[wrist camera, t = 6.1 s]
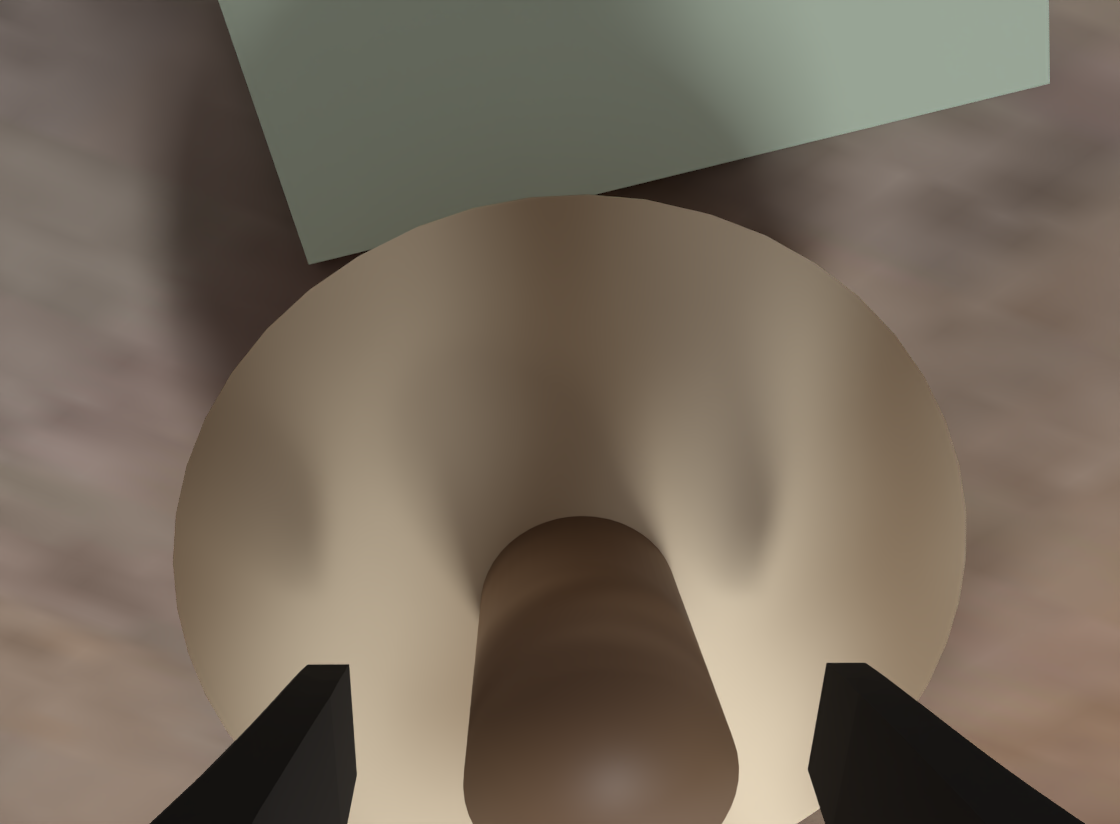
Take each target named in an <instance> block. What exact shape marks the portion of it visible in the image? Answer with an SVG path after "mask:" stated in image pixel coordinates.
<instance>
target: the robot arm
mask: <svg viewBox="0 0 1120 824" xmlns="http://www.w3.org/2000/svg"><path fill="white" fill-rule="evenodd" d="M808 772H809V775H810V778H811V782H812V785H813V788H814V791H815V794H816V797H817V800H818V804H819V807H820V810H821V812H822V815H823V818H824V821H825V824H1085V823H1083V822H1082V821H1080V820H1079V819H1077V818H1076V817H1074V816H1073V815H1071V814H1070V813H1068V812H1067V811H1065V810H1064V809H1063V808H1061V807H1060V806H1058V805H1057V804H1055V803H1054V802H1052V801H1051V800H1050V799H1048V798H1047V797H1045V796H1044V795H1042V794H1041V793H1039V792H1038V791H1037V790H1035V789H1034V788H1032V787H1031V786H1029V785H1028V784H1026V783H1025V782H1024V781H1022V780H1021V779H1020V778H1018V777H1017V776H1015V775H1014V774H1013V773H1011V772H1010V771H1008V770H1007V769H1006V768H1004V767H1003V766H1002V765H1000V764H999V763H998V762H996V761H995V760H993V759H992V758H991V757H989V756H988V755H987V754H985V753H984V752H983V751H981V750H980V749H979V748H977V747H976V746H975V745H973V744H972V743H971V742H969V741H968V740H967V739H965V738H964V737H963V736H962V735H960V734H959V733H958V732H956V731H955V730H954V729H952V728H951V727H950V726H949V725H947V724H946V723H945V722H943V721H942V720H941V719H939V718H938V717H937V716H936V715H934V714H933V713H932V712H930V711H929V710H928V709H927V708H925V707H924V706H923V705H921V704H920V703H919V702H918V701H916V700H915V699H914V698H912V697H911V696H910V695H909V694H907V693H906V692H905V691H903V690H902V689H901V688H899V687H898V686H897V685H896V684H894V683H893V682H892V681H890V680H889V679H888V678H886V677H885V676H884V675H882V674H881V673H879V672H878V671H877V670H875V669H874V668H872V667H871V666H870V665H868V664H867V663H826V668H825V674H824V679H823V685H822V691H821V696H820V702H819V708H818V713H817V719H816V725H815V730H814V736H813V742H812V747H811V753H810V759H809V764H808ZM356 777H357V768H356V754H355V739H354V725H353V711H352V697H351V682H350V668H349V664H307V665H306V666H305V667H304V668H303V669H302V670H301V671H300V672H299V673H298V674H297V675H296V676H295V677H294V678H293V679H292V680H291V682H290V683H289V684H288V685H287V686H286V687H285V688H284V689H283V690H282V691H281V692H280V694H279V695H278V696H277V697H276V698H275V699H274V700H273V701H272V702H271V703H270V704H269V706H268V707H267V708H266V709H265V710H264V711H263V712H262V713H261V714H260V715H259V716H258V717H257V718H256V720H255V721H254V722H253V723H252V724H251V725H250V726H249V727H248V728H247V729H246V730H245V731H244V732H243V733H242V734H241V735H240V736H239V737H238V738H237V739H236V740H235V741H234V743H233V744H232V745H231V746H230V747H229V748H228V749H227V750H226V751H225V752H224V753H223V754H222V755H221V756H220V757H219V758H218V759H217V760H216V761H215V762H214V763H213V764H212V765H211V766H210V767H209V768H208V769H207V770H206V771H205V772H204V773H203V774H202V775H201V776H200V777H199V778H198V779H197V780H196V781H195V782H194V783H193V784H192V785H191V786H189V787H188V788H187V789H186V790H185V791H184V792H183V793H182V794H181V795H180V796H179V797H178V798H177V799H176V800H175V801H173V802H172V803H171V804H170V805H169V806H168V807H167V808H166V809H165V810H164V811H163V812H162V813H161V814H160V815H158V816H157V817H156V818H155V819H154V820H153V821H152V822H151V823H150V824H347V823H348V818H349V813H350V808H351V803H352V798H353V793H354V787H355V782H356Z"/></svg>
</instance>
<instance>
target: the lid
mask: <svg viewBox="0 0 1120 824" xmlns="http://www.w3.org/2000/svg"><path fill="white" fill-rule="evenodd" d="M965 559H966V507H965V501H964V494H963V487H962V480H961V473H960V467H959V463H958V460H957V456H956V453H955V450H954V447H953V443H952V440H951V437H950V434H949V430H948V427H947V424H946V421H945V418H944V416H943V414H942V412H941V410H940V408H939V406H938V404H937V402H936V400H935V398H934V396H933V394H932V392H931V390H930V388H929V386H928V384H927V382H926V380H925V377H924V376H923V374H922V373H921V371H920V370H919V368H918V367H917V366H916V364H915V363H914V361H913V360H912V358H911V357H910V356H909V354H908V353H907V351H906V350H905V348H904V347H903V346H902V344H901V343H900V341H899V340H898V338H897V337H896V336H895V334H894V333H893V332H892V331H891V330H890V329H889V328H888V327H887V326H886V325H885V324H884V323H883V322H882V321H881V320H880V319H879V317H878V316H877V315H876V314H875V313H874V312H873V311H872V310H871V309H870V308H869V307H868V306H867V305H866V304H865V303H864V302H863V301H862V300H861V299H860V298H859V297H858V296H857V295H856V294H855V293H853V292H852V291H851V290H849V289H848V288H847V287H845V286H844V285H843V284H842V283H840V282H839V281H838V280H836V279H835V278H834V277H833V276H831V275H830V274H829V273H827V272H826V271H825V270H823V269H822V268H821V267H820V266H818V265H817V264H816V263H814V262H812V261H810V260H809V259H807V258H805V257H803V256H802V255H800V254H798V253H796V252H794V251H793V250H791V249H789V248H787V247H785V246H784V245H782V244H780V243H778V242H777V241H775V240H773V239H771V238H769V237H768V236H766V235H763V234H760V233H758V232H755V231H753V230H750V229H747V228H745V227H742V226H740V225H737V224H734V223H732V222H729V221H727V220H724V219H721V218H719V217H716V216H714V215H711V214H707V213H702V212H698V211H694V210H690V209H685V208H681V207H676V206H672V205H668V204H663V203H659V202H655V201H650V200H646V199H637V198H625V197H614V196H602V195H591V194H582V195H562V196H542V197H528V198H522V199H517V200H512V201H507V202H501V203H496V204H491V205H485V206H480V207H475V208H471V209H468V210H465V211H462V212H459V213H456V214H453V215H450V216H447V217H444V218H441V219H438V220H435V221H432V222H429V223H426V224H423V225H420V226H418V227H416V228H414V229H412V230H410V231H408V232H406V233H404V234H402V235H400V236H398V237H396V238H394V239H392V240H390V241H388V242H386V243H384V244H382V245H380V246H378V247H376V248H374V249H372V250H370V251H368V252H366V253H364V254H362V255H360V256H358V257H356V258H355V259H354V260H352V261H351V262H349V263H348V264H346V265H345V266H343V267H342V268H340V269H339V270H338V271H336V272H335V273H333V274H332V275H330V276H329V277H327V278H326V279H324V280H323V281H322V282H320V283H319V284H317V285H316V286H314V287H313V288H311V289H310V290H309V291H307V292H306V293H305V294H304V295H303V296H302V297H301V298H300V299H299V300H298V301H297V302H296V303H294V304H293V305H292V306H291V307H290V308H289V309H288V310H287V311H286V312H285V313H284V314H283V315H281V316H280V317H279V318H278V319H277V320H276V321H275V322H274V323H273V324H272V325H271V326H270V327H269V328H267V329H266V331H265V332H264V333H263V334H262V336H261V337H260V338H259V339H258V341H257V342H256V343H255V344H254V346H253V347H252V348H251V349H250V351H249V352H248V353H247V354H246V356H245V357H244V358H243V359H242V361H241V362H240V363H239V364H238V365H237V367H236V368H235V369H234V370H233V372H232V373H231V375H230V377H229V378H228V380H227V382H226V384H225V385H224V387H223V389H222V390H221V392H220V394H219V396H218V397H217V399H216V401H215V402H214V404H213V406H212V408H211V409H210V411H209V413H208V414H207V416H206V418H205V420H204V423H203V425H202V428H201V431H200V433H199V436H198V438H197V441H196V443H195V446H194V448H193V451H192V454H191V456H190V459H189V461H188V464H187V467H186V471H185V476H184V480H183V485H182V489H181V494H180V498H179V503H178V507H177V512H176V521H175V537H174V553H173V568H174V579H175V590H176V600H177V610H178V614H179V618H180V622H181V626H182V630H183V634H184V638H185V642H186V646H187V650H188V653H189V656H190V658H191V661H192V663H193V666H194V668H195V670H196V673H197V675H198V678H199V680H200V683H201V685H202V687H203V690H204V692H205V695H206V696H207V698H208V700H209V701H210V703H211V705H212V707H213V708H214V710H215V712H216V713H217V715H218V717H219V718H220V720H221V722H222V724H223V725H224V727H225V729H226V730H227V732H228V733H229V735H230V736H231V737H232V739H233V740H234V741H235V740H236V739H237V738H238V737H239V736H240V735H241V734H242V733H243V732H244V731H245V730H246V729H247V728H248V727H249V726H250V725H251V724H252V723H253V722H254V721H255V720H256V718H257V717H258V716H259V715H260V714H261V713H262V712H263V711H264V710H265V709H266V708H267V707H268V706H269V704H270V703H271V702H272V701H273V700H274V699H275V698H276V697H277V696H278V695H279V694H280V692H281V691H282V690H283V689H284V688H285V687H286V686H287V685H288V684H289V683H290V682H291V680H292V679H293V678H294V677H295V676H296V675H297V674H298V673H299V672H300V671H301V670H302V669H303V668H304V667H305V666H306V665H307V664H349V668H350V682H351V697H352V711H353V725H354V739H355V754H356V768H357V777H356V782H355V787H354V793H353V798H352V803H351V808H350V813H349V818H348V823H347V824H797V823H798V822H800V821H802V820H803V819H805V818H806V817H808V816H809V815H811V814H812V813H814V812H815V811H817V810H818V809H819V808H820V807H819V804H818V800H817V797H816V794H815V791H814V788H813V785H812V782H811V778H810V775H809V772H808V764H809V759H810V753H811V747H812V742H813V736H814V730H815V725H816V719H817V713H818V708H819V702H820V696H821V691H822V685H823V679H824V674H825V668H826V663H867V664H868V665H870V666H871V667H872V668H874V669H875V670H877V671H878V672H879V673H881V674H882V675H884V676H885V677H886V678H888V679H889V680H890V681H892V682H893V683H894V684H896V685H897V686H898V687H899V688H901V689H902V690H903V691H905V692H906V693H907V694H909V695H910V696H911V697H912V698H914V699H915V700H916V701H918V700H919V698H920V696H921V695H922V693H923V692H924V690H925V688H926V687H927V685H928V683H929V681H930V679H931V677H932V675H933V672H934V670H935V668H936V666H937V663H938V661H939V659H940V657H941V655H942V652H943V650H944V648H945V646H946V643H947V640H948V637H949V634H950V630H951V627H952V623H953V620H954V617H955V613H956V610H957V607H958V603H959V599H960V593H961V586H962V579H963V572H964V566H965Z"/></svg>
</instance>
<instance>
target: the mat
mask: <svg viewBox="0 0 1120 824" xmlns="http://www.w3.org/2000/svg"><path fill="white" fill-rule="evenodd" d="M218 1H219V4H220V7H221V10H222V13H223V16H224V19H225V22H226V25H227V27H228V30H229V33H230V36H231V39H232V42H233V45H234V48H235V51H236V54H237V57H238V60H239V63H240V65H241V68H242V71H243V74H244V77H245V80H246V83H247V86H248V89H249V92H250V95H251V98H252V100H253V103H254V106H255V109H256V112H257V115H258V118H259V121H260V124H261V127H262V130H263V133H264V136H265V138H266V141H267V144H268V147H269V150H270V153H271V156H272V159H273V162H274V165H275V168H276V171H277V174H278V176H279V179H280V182H281V185H282V188H283V191H284V194H285V197H286V200H287V203H288V206H289V209H290V212H291V214H292V217H293V220H294V223H295V226H296V229H297V232H298V235H299V238H300V241H301V244H302V247H303V249H304V252H305V255H306V258H307V261H308V264H309V265H310V264H314V263H318V262H322V261H326V260H330V259H334V258H338V257H342V256H346V255H351V254H355V253H359V252H363V251H367V250H371V249H374V248H376V247H378V246H380V245H382V244H384V243H386V242H388V241H390V240H392V239H394V238H396V237H398V236H400V235H402V234H404V233H406V232H408V231H410V230H412V229H414V228H416V227H418V226H420V225H423V224H426V223H429V222H432V221H435V220H438V219H441V218H444V217H447V216H450V215H453V214H456V213H459V212H462V211H465V210H468V209H471V208H475V207H480V206H485V205H491V204H496V203H501V202H507V201H512V200H517V199H522V198H528V197H542V196H562V195H582V194H591V195H596V194H600V193H604V192H608V191H612V190H616V189H620V188H624V187H628V186H633V185H637V184H641V183H645V182H649V181H653V180H657V179H661V178H665V177H669V176H673V175H678V174H682V173H686V172H690V171H694V170H698V169H702V168H706V167H710V166H714V165H718V164H722V163H727V162H731V161H735V160H739V159H743V158H747V157H751V156H755V155H759V154H763V153H767V152H772V151H776V150H780V149H784V148H788V147H792V146H796V145H800V144H804V143H808V142H812V141H816V140H821V139H825V138H829V137H833V136H837V135H841V134H845V133H849V132H853V131H857V130H861V129H866V128H870V127H874V126H878V125H882V124H886V123H890V122H894V121H898V120H902V119H906V118H910V117H915V116H919V115H923V114H927V113H931V112H935V111H939V110H943V109H947V108H951V107H955V106H960V105H964V104H968V103H972V102H976V101H980V100H984V99H988V98H992V97H996V96H1000V95H1004V94H1009V93H1013V92H1017V91H1021V90H1025V89H1029V88H1033V87H1037V86H1041V85H1045V84H1049V83H1050V64H1049V0H218Z"/></svg>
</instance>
